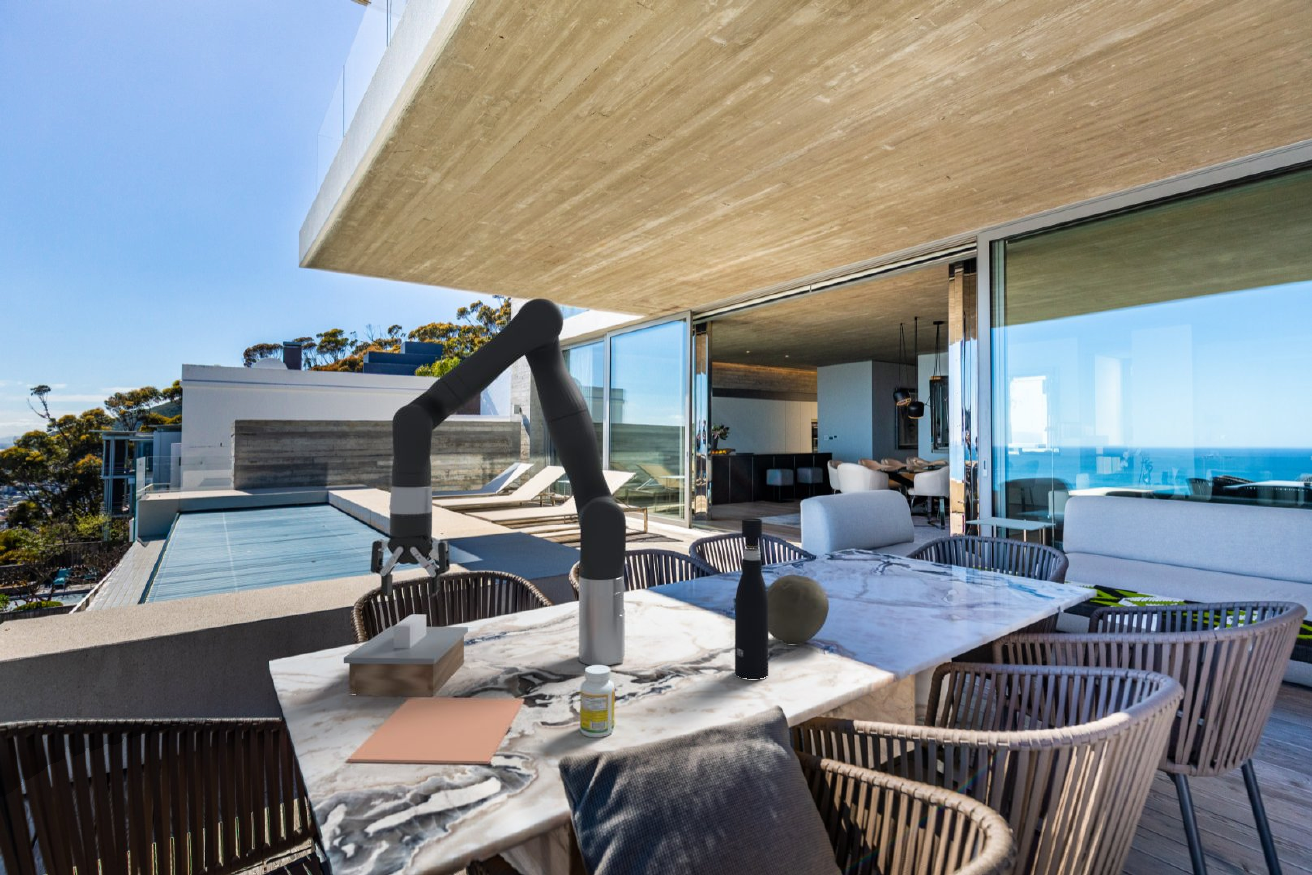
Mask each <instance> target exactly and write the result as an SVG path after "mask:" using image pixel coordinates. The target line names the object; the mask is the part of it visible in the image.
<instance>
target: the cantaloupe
mask: <svg viewBox="0 0 1312 875" xmlns="http://www.w3.org/2000/svg"><path fill="white" fill-rule="evenodd" d="M767 594H768V634H770V635H771V636H772V637H773V638H775V639H776V640H778V641H780V642H781V643H783V644H785V643H786V644H785V645H787V644H798V645H801V644H803V643H806V642H808V641H809V640H812V639H813V638H814V637H815V636H816V635H817V634H818V633H819V632H820V631H821V629H822V628H823V627H824V625H825V624H826V621H827V619H828V615H829V610H830V607H829V606H830V604H829V603H830V602H829V599H828V596H827V593H826V591H825V590H824V589H823V587H822V586H821V585H820V584H819V583H818V582H817V581H816V580H814V579H812V578H810V577H809V576H802V575H799V574H787V575H786V574H785V575H784V576H781V577H778V578H777V579H775V580H773V581H772V583H771V584H770V585H769V587H768V588H767Z"/></svg>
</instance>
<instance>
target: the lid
mask: <svg viewBox="0 0 1312 875" xmlns="http://www.w3.org/2000/svg"><path fill="white" fill-rule="evenodd" d="M468 633H469V627H468V626H427V614H418V613H417V614H409V615H408V616H407V617H405V618H403V619H402V620H401V621H399V622H398V623H396V624H395V625H393V626H392V625H391V626H389V627H387V628H385V629H384V630H383V631H381V632H380V633H378V634H377V635H375V636H374V637H372V638H371V639H370V640H368V641H366V642H365V643H363V644H362V645H360V646H359V647H358V648H356V649H354V650H353V651H351V652H350V653H349V654H346V655H345V656H344V657H343V664H349V663H363V664H435V663H436V662H437V661H438V660H439V659H440V658H441V657H442V656H443V655H444V654H445V653H446V652H448V651H449V650H450V649H451V648H452V647H453V646H454V645H455V644H456V643H457V642H458V641H459V640H460V639H461V638H462V637H463V636H464V637H465V636H466V635H467V634H468Z"/></svg>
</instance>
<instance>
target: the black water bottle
mask: <svg viewBox="0 0 1312 875" xmlns="http://www.w3.org/2000/svg"><path fill="white" fill-rule="evenodd" d="M741 536H742V537H743V538H744V537H745V544H744V547H746V548H744V550H743V558H742V560H741V572H742V573H741V575H740V578H739V581H738V585H737V588H736V594H735V600H734V606H735V607H734V612H735V613H734V623H735V624H734V675H735V674H736V675H735V677H737V676H739V677H741V678H747V679H760V678H764V677H766V676H768V677H769V631H768V594H767V590H768V588H767V586H766V583H765V580H764V577H763V574H762V572H763V568H762V567H763V566H762V564H763V559H761V551H760V550H761V549H759V546H760V544H759V538H761V537H763V519H761V518H754V517H753V518H752V517H749V518H742V519H741ZM739 677H738V678H739ZM741 678H740V679H741Z"/></svg>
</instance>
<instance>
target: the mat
mask: <svg viewBox="0 0 1312 875" xmlns="http://www.w3.org/2000/svg"><path fill="white" fill-rule="evenodd" d="M524 702H525V698H507V697H506V698H501V697H498V698H495V697H494V698H493V697H490V698H489V697H434V696H409V698H407V699H406V700H405V701H404V703H402V704H401V706H400V707H399V708H398V709H396V711H395V712H393V714H392V715H391V716H389V717H388V718H387V720H385V721H384V722H383V723H382V724H381V725H380V726H379V727H378V728H377V729H376V730H375V732H373V733H372V734H371V735H370V736H369V737H368V738H367V739H366V740H365V741H364V742H363V743H362V744H361V745H360V746H359V747H358V748H357V749H356V750H354V752H353V753H352V754H351V755H350V756H349V757H348V758H347V762H348V763H392V764H393V763H395V764H396V763H400V764H403V763H405V764H407V763H408V764H411V763H412V764H463V765H464V764H466V765H468V764H469V765H489V764H490V763H491V760H492V759H493V758H494V756H495V753H496V751H497V750H498V748H499V747H500V745H501V743H502V741H503V739H504V738H505V735H506V734H507V732H508V731H509V729H510V727H511V725H512V723H513V722H514V720H515V718H516V716H517V715H518V713H519V711H520V709H521V707H522V705H523V704H524Z"/></svg>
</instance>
